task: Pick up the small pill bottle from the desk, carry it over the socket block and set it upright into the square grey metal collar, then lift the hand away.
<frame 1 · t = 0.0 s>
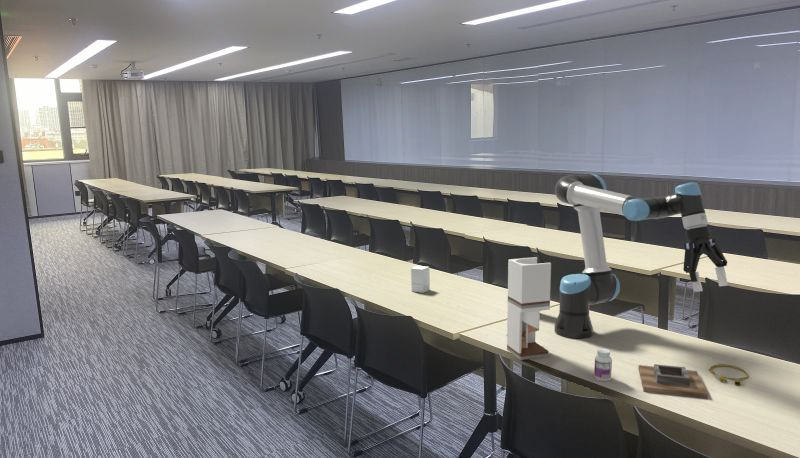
hand: (711, 288, 194), 28 cm above the table, tool tilted 20°, fingers open, 13 cm apart
supplement box: (420, 291, 302), on the table
pill bottle: (602, 378, 190), on the table
socket block: (670, 382, 186), on the table
gold torc necklace: (727, 376, 192), on the table
white notched tower: (527, 353, 213), on the table
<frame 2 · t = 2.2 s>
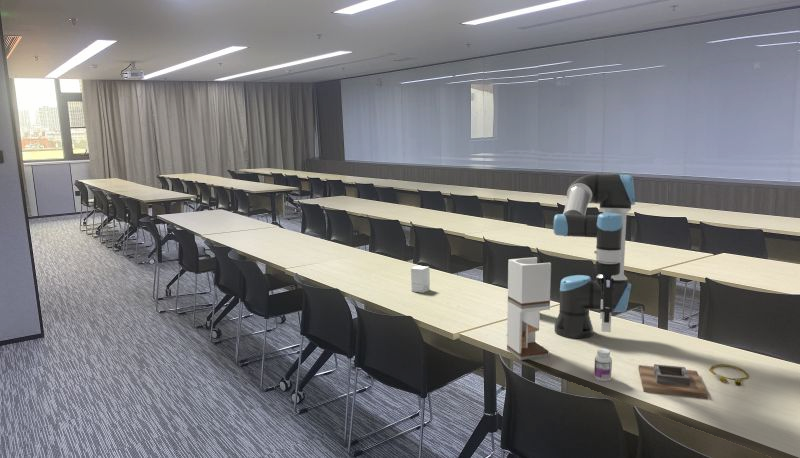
hand: (605, 324, 187), 18 cm above the table, tool pointing down, fingers open, 13 cm apart
nothing on the table moved.
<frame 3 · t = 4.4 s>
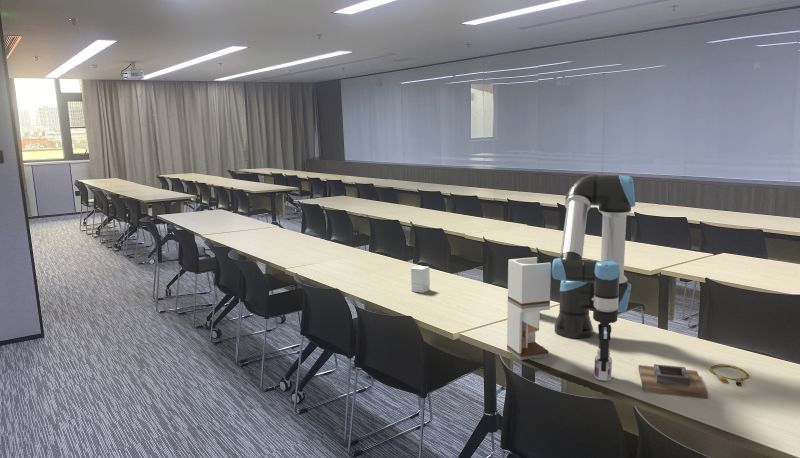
hand: (602, 375, 190), 1 cm above the table, tool pointing down, fingers closed on pill bottle, 5 cm apart
pill bottle: (602, 378, 190), on the table, touching gripper
everything else where it was.
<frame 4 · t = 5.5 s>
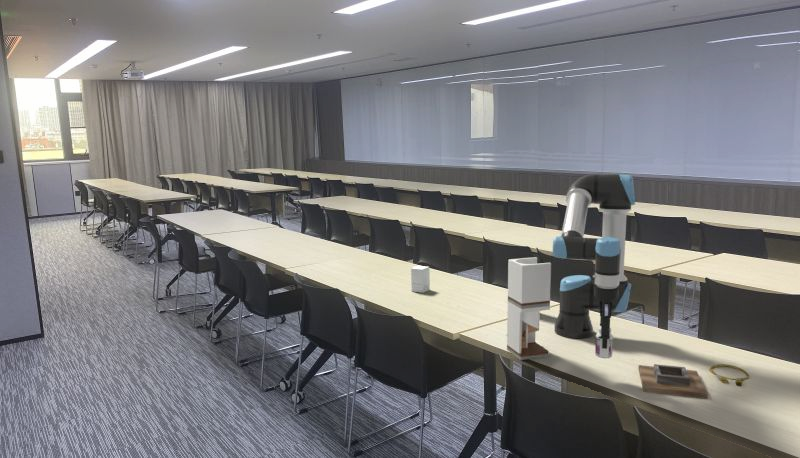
hand: (603, 353, 189), 9 cm above the table, tool pointing down, fingers closed on pill bottle, 5 cm apart
pill bottle: (603, 356, 190), point 7 cm above the table, touching gripper
everything else where it was.
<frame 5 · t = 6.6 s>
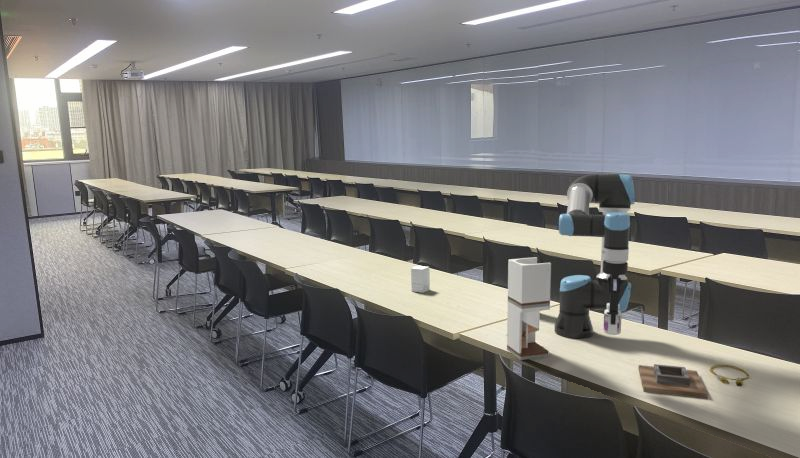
hand: (612, 330, 187), 17 cm above the table, tool pointing down, fingers closed on pill bottle, 5 cm apart
pill bottle: (611, 333, 187), point 16 cm above the table, touching gripper
everything else where it was.
when the fingers open (6 cm above the table, at t = 10.0 s): pill bottle drops 3 cm, resting on socket block.
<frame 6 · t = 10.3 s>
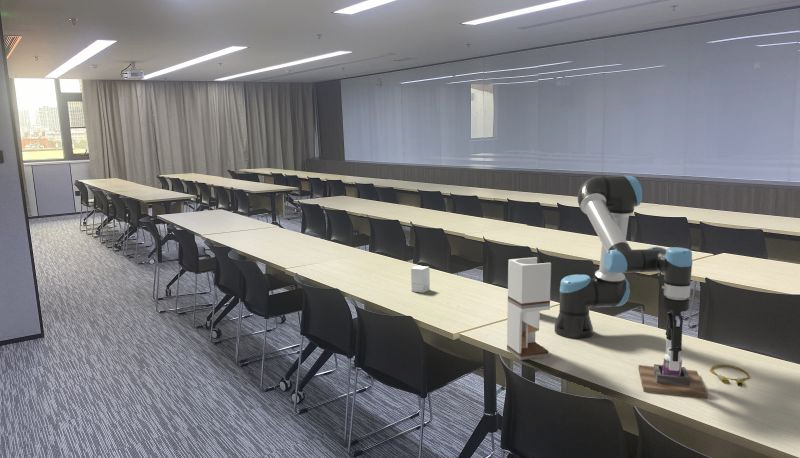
hand: (671, 364, 185), 6 cm above the table, tool pointing down, fingers open, 8 cm apart
pill bottle: (670, 378, 186), point 1 cm above the table, touching socket block
everything else where it was.
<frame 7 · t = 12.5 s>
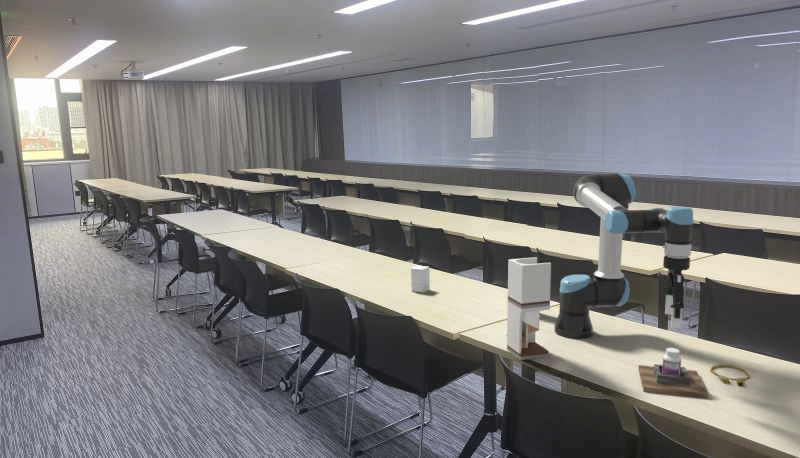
hand: (672, 320, 184), 21 cm above the table, tool pointing down, fingers open, 13 cm apart
nothing on the table moved.
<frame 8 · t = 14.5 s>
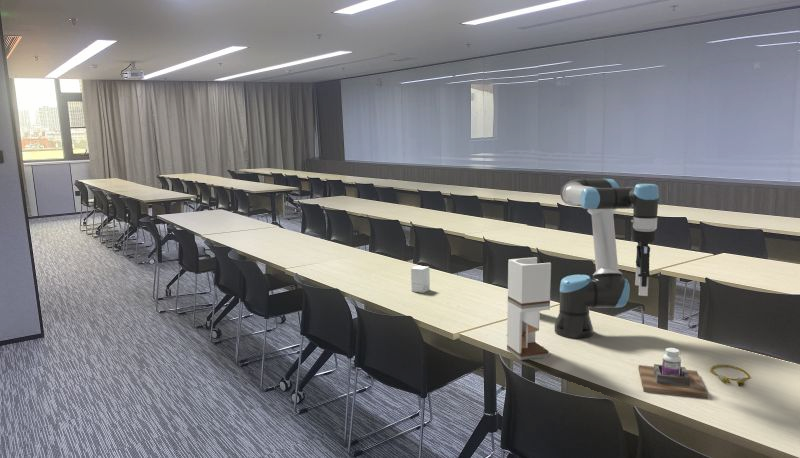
hand: (641, 290, 198), 27 cm above the table, tool pointing down, fingers open, 13 cm apart
nothing on the table moved.
at the end: pill bottle 0.2 cm off-centre on the socket block, point 1.3 cm above the socket block's base; pill bottle tilted 1°; the gripper is holding nothing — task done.
